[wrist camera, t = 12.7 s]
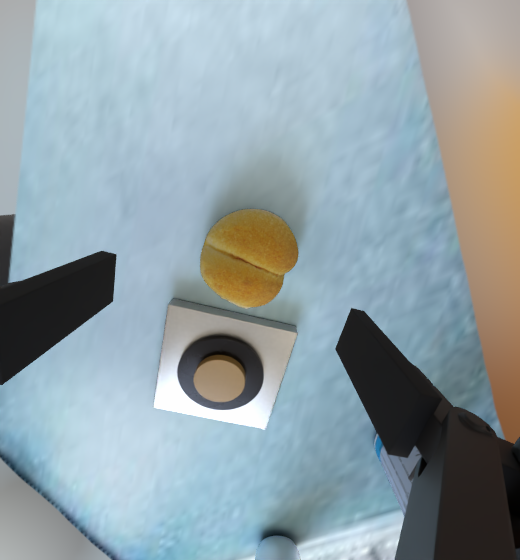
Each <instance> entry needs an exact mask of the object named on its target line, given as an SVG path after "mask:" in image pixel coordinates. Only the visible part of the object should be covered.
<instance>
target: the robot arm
mask: <svg viewBox="0 0 520 560" xmlns="http://www.w3.org/2000/svg"><path fill="white" fill-rule="evenodd" d="M115 267H116V254H113V253H108V252H104V251H100V252H97V253H95V254H92V255H89V256H87V257H84V258H81V259H79V260H76V261H73V262H71V263H68V264H65V265H63V266H60V267H57V268H55V269H52V270H49V271H47V272H44V273H41V274H39V275H36V276H33V277H31V278H28V279H25V280H23V281H18V282H12V283H8V284H6V285H3V286H0V385H3V384H4V383H5V382H7V381H8V380H9V379H11V378H12V377H13V376H15V375H16V374H17V373H19V372H20V371H21V370H22V369H24V368H25V367H26V366H28V365H29V364H30V363H32V362H33V361H34V360H36V359H37V358H38V357H40V356H41V355H42V354H44V353H45V352H46V351H48V350H49V349H50V348H52V347H53V346H54V345H56V344H57V343H58V342H60V341H61V340H62V339H64V338H65V337H66V336H68V335H69V334H70V333H72V332H73V331H74V330H76V329H77V328H78V327H80V326H81V325H82V324H84V323H85V322H86V321H87V320H89V319H90V318H91V317H93V316H94V315H95V314H97V313H98V312H99V311H101V310H102V309H103V308H105V307H106V306H107V305H109V304H110V303H111V302H113V294H114V280H115ZM336 351H337V353H338V355H339V357H340V359H341V361H342V363H343V365H344V367H345V369H346V371H347V373H348V375H349V377H350V379H351V381H352V383H353V385H354V387H355V389H356V391H357V393H358V395H359V397H360V399H361V401H362V403H363V405H364V407H365V409H366V411H367V413H368V415H369V417H370V419H371V422H372V424H373V426H374V428H375V430H376V432H377V434H378V436H379V438H380V440H381V442H382V444H383V446H384V448H385V450H386V452H387V454H388V455H393V456H398V457H404V458H408V457H409V455H410V453H411V452H412V450H413V448H414V447H415V446H416V447H417V449H418V451H419V452H420V454H421V455H422V456H421V457H420V459H419V461H418V462H417V464H416V466H415V467H414V469H413V471H412V472H411V474H410V476H409V477H408V479H409V480H410V481H411V480H412V479H413V482H412V487H411V491H410V495H409V500H408V504H407V508H406V513H405V517H404V521H403V526H402V530H401V534H400V539H399V543H398V547H397V552H396V556H395V560H520V437H519V439H518V440H517V441H516V443H515V444H513V443H510V442H508V441H506V440H503V439H501V438H498V437H497V435H496V433H495V431H494V430H493V429H492V428H491V427H490V426H489V425H488V424H487V423H486V422H485V421H483V420H482V419H481V418H479V417H478V416H476V415H475V414H473V413H471V412H469V411H467V410H465V409H462V408H458V407H453V406H452V405H451V403H450V402H449V401H448V400H447V399H446V398H445V397H444V396H443V395H442V394H441V393H440V391H439V390H438V389H437V388H436V387H435V386H433V384H432V383H431V382H430V381H429V379H427V377H426V376H425V375H424V374H423V373H422V372H421V371H420V370H419V369H418V368H417V367H416V366H414V365H413V364H412V363H410V362H409V361H408V360H407V359H406V357H405V356H404V355H403V354H402V353H401V352H400V351H399V350H398V348H397V347H396V346H395V345H394V344H393V343H392V342H391V341H390V340H389V338H388V337H387V336H386V335H385V334H384V333H383V332H382V331H381V330H380V328H379V327H378V326H377V325H376V324H375V323H374V322H373V321H372V319H371V318H370V317H369V316H368V315H367V314H366V313H365V312H364V311H361V310H357V309H353V308H351V310H350V313H349V316H348V318H347V321H346V323H345V326H344V328H343V331H342V333H341V336H340V338H339V341H338V343H337V346H336Z"/></svg>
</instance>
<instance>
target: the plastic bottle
mask: <svg viewBox="0 0 520 560" xmlns="http://www.w3.org/2000/svg"><path fill="white" fill-rule="evenodd" d="M255 560H301V559H300V554H299V550H298V548H297V547H296V545H295V543H294V542H293V541H292V540H291V539H289V538H287V537H283V536H270V537H267V538H265V539H263V540H262V541H261V543H260V544H259V546H258V548H257V551H256V556H255Z"/></svg>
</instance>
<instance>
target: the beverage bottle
mask: <svg viewBox="0 0 520 560" xmlns="http://www.w3.org/2000/svg"><path fill="white" fill-rule="evenodd" d="M374 446H375V451H376V453H377V456H378V458H379V460H380V462H381V464H382V466H383V468H384V471H385V473H386V475H387V478H388V480H389V482H390V484H391V487H392V489H393V491H394V494H395V496H396V498H397V501H398V503H399V505H400V508H401V510H402V512H403V515H404V517H405V513H406V508H407V504H408V500H409V495H410V491H411V487H412V482H413V479H412V480H411V481H410V480H409V479H408V477H409V476H410V474H411V472H412V471H413V469H414V467H415V466H416V464H417V462H418V461H419V459H420V457H421V456H422V455H421V454H420V452H419V451H418V449H417V447H416V446H415V447H414V448H413V450H412V452H411V453H410V455H409V457H408V458H404V457H398V456H393V455H388V454H387V452H386V450H385V448H384V446H383V444H382V442H381V440H380V438H379V436H378V434H376V437H375V441H374Z"/></svg>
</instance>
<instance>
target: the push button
mask: <svg viewBox="0 0 520 560" xmlns="http://www.w3.org/2000/svg"><path fill="white" fill-rule="evenodd" d="M297 334H298V332H297V328H296V326H293V325H289V324H284V323H280V322H275V321H271V320H267V319H262V318H258V317H253V316H249V315H245V314H240V313H236V312H231V311H227V310H222V309H218V308H214V307H209V306H205V305H200V304H196V303H192V302H187V301H183V300H178V299H174V298H173V299H172V300H171V302H170V303H169V304H168V309H167V316H166V323H165V330H164V337H163V344H162V350H161V357H160V364H159V371H158V378H157V385H156V391H155V398H154V405H153V408H158V409H163V410H168V411H173V412H179V413H184V414H189V415H194V416H199V417H204V418H209V419H214V420H219V421H225V422H230V423H235V424H240V425H245V426H250V427H255V428H260V429H266V427H267V424H268V421H269V418H270V415H271V412H272V409H273V406H274V403H275V400H276V397H277V394H278V391H279V388H280V385H281V382H282V379H283V376H284V373H285V370H286V367H287V364H288V361H289V358H290V355H291V352H292V349H293V346H294V343H295V340H296V337H297Z"/></svg>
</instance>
